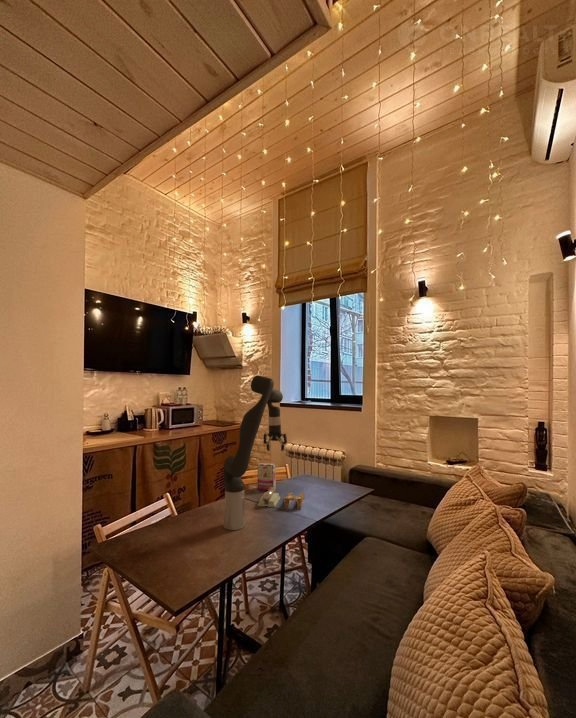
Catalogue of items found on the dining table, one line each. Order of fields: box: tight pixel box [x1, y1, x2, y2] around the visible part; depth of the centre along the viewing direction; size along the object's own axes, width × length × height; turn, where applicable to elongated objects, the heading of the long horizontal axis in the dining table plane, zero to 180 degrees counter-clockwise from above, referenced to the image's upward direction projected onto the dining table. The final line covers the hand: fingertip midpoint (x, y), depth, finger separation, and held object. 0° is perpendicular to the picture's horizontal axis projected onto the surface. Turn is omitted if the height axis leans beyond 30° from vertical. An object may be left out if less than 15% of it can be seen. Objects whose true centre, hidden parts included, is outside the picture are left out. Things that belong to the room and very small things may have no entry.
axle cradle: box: [257, 491, 281, 508], centre depth 190 cm, size 10×14×3 cm
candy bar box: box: [257, 462, 277, 491], centre depth 214 cm, size 11×5×16 cm, turn 73°
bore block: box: [283, 492, 305, 510], centre depth 188 cm, size 9×16×6 cm, turn 170°
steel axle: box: [262, 487, 276, 502], centre depth 190 cm, size 14×4×4 cm, turn 170°
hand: (275, 450), depth 200 cm, fingers open, 8 cm apart
